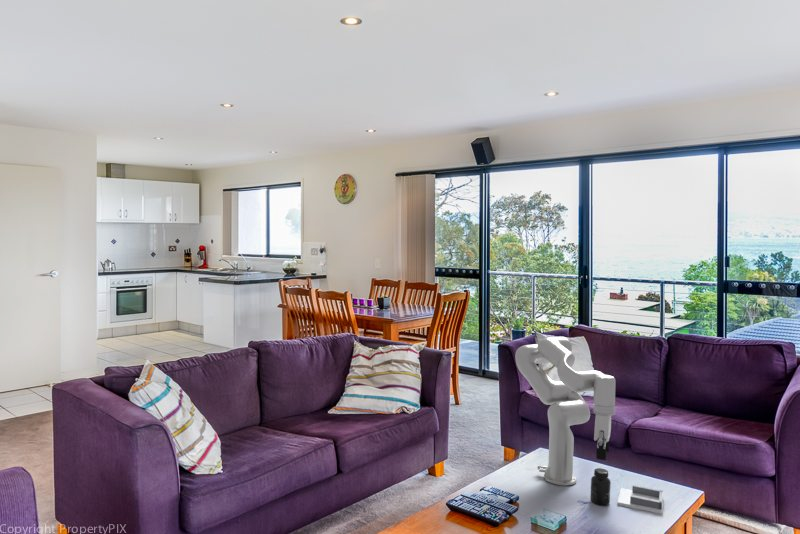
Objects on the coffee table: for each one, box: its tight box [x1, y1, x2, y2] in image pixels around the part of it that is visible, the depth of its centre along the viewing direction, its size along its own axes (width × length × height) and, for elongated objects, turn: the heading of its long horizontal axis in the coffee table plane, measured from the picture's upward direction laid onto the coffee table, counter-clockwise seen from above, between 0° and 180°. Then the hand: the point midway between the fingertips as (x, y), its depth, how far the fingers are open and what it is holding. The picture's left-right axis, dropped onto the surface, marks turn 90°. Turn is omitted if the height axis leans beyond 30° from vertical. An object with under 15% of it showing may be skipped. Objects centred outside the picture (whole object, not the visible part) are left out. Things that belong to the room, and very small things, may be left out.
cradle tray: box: [617, 484, 664, 515], centre depth 215 cm, size 15×14×4 cm
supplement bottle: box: [589, 467, 612, 507], centre depth 214 cm, size 7×7×12 cm
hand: (602, 455), depth 213 cm, fingers open, 9 cm apart
